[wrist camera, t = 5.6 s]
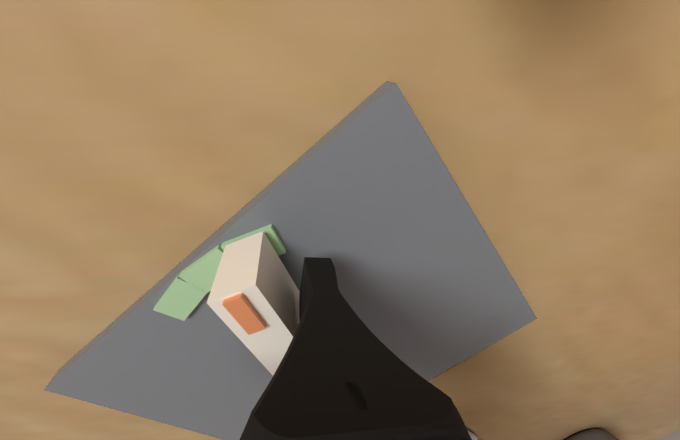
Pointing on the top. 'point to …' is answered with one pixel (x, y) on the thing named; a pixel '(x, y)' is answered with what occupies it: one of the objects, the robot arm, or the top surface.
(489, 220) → the top surface
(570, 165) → the top surface
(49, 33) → the top surface
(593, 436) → the cup
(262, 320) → the peg key
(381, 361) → the robot arm
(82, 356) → the dial board
